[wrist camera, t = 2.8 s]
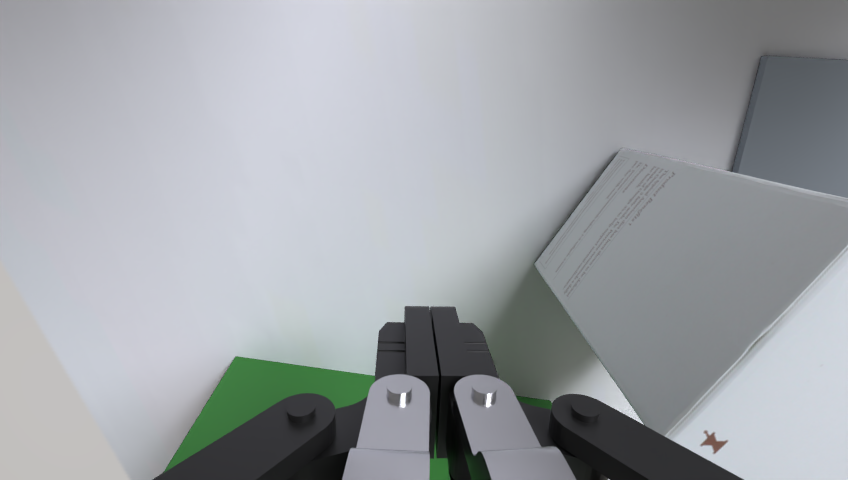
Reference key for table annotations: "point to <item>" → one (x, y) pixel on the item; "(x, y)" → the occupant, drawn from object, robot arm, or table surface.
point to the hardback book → (272, 382)
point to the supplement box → (716, 310)
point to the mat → (798, 125)
